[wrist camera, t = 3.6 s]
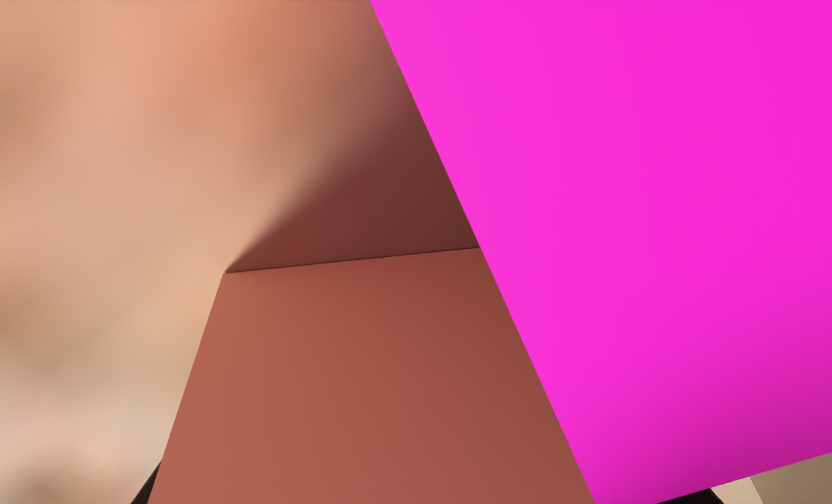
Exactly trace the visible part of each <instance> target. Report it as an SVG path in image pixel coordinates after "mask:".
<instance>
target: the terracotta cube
mask: <svg viewBox="0 0 832 504" xmlns="http://www.w3.org/2000/svg"><path fill="white" fill-rule="evenodd" d="M147 504H595V501H594V499H593V497H592V495H591V492H590V490H589V488H588V486H587V484H586V481H585V479H584V477H583V475H582V472H581V470H580V468H579V466H578V464H577V461H576V459H575V457H574V455H573V452H572V450H571V448H570V446H569V443H568V441H567V439H566V437H565V435H564V432H563V430H562V428H561V426H560V423H559V421H558V419H557V417H556V415H555V412H554V410H553V408H552V406H551V403H550V401H549V399H548V397H547V394H546V392H545V390H544V388H543V386H542V383H541V381H540V379H539V377H538V374H537V372H536V370H535V368H534V366H533V363H532V361H531V359H530V357H529V354H528V352H527V350H526V348H525V345H524V343H523V341H522V339H521V337H520V334H519V332H518V330H517V328H516V325H515V323H514V321H513V319H512V317H511V314H510V312H509V310H508V308H507V305H506V303H505V301H504V299H503V296H502V294H501V292H500V290H499V288H498V285H497V283H496V281H495V279H494V276H493V274H492V272H491V270H490V268H489V265H488V263H487V261H486V259H485V256H484V254H483V252H482V250H481V248H471V249H462V250H452V251H442V252H432V253H422V254H412V255H403V256H393V257H383V258H373V259H363V260H353V261H344V262H334V263H324V264H314V265H304V266H294V267H285V268H275V269H265V270H255V271H245V272H235V273H226V274H223V276H222V279H221V282H220V285H219V288H218V291H217V294H216V297H215V300H214V303H213V306H212V309H211V312H210V315H209V318H208V321H207V324H206V327H205V330H204V333H203V336H202V340H201V343H200V346H199V349H198V352H197V355H196V358H195V361H194V364H193V367H192V370H191V373H190V376H189V379H188V382H187V385H186V388H185V391H184V394H183V397H182V400H181V403H180V406H179V409H178V412H177V415H176V418H175V421H174V425H173V428H172V431H171V434H170V437H169V440H168V443H167V446H166V449H165V452H164V455H163V458H162V461H161V464H160V467H159V470H158V473H157V476H156V479H155V482H154V485H153V488H152V491H151V494H150V497H149V500H148V503H147Z"/></svg>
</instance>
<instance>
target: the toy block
mask: <svg viewBox="0 0 832 504" xmlns="http://www.w3.org/2000/svg"><path fill="white" fill-rule="evenodd" d="M370 2H371V5H372V7H373V9H374V11H375V14H376V16H377V18H378V20H379V22H380V25H381V27H382V29H383V31H384V34H385V36H386V38H387V40H388V43H389V45H390V47H391V49H392V51H393V54H394V56H395V58H396V60H397V63H398V65H399V67H400V69H401V71H402V74H403V76H404V78H405V80H406V83H407V85H408V87H409V89H410V92H411V94H412V96H413V98H414V100H415V103H416V105H417V107H418V109H419V112H420V114H421V116H422V118H423V121H424V123H425V125H426V127H427V129H428V132H429V134H430V136H431V138H432V141H433V143H434V145H435V147H436V149H437V152H438V154H439V156H440V158H441V161H442V163H443V165H444V167H445V170H446V172H447V174H448V176H449V178H450V181H451V183H452V185H453V187H454V190H455V192H456V194H457V196H458V198H459V201H460V203H461V205H462V207H463V210H464V212H465V214H466V216H467V219H468V221H469V223H470V225H471V227H472V230H473V232H474V234H475V236H476V239H477V241H478V243H479V245H480V247H481V250H482V252H483V254H484V256H485V259H486V261H487V263H488V265H489V268H490V270H491V272H492V274H493V276H494V279H495V281H496V283H497V285H498V288H499V290H500V292H501V294H502V296H503V299H504V301H505V303H506V305H507V308H508V310H509V312H510V314H511V317H512V319H513V321H514V323H515V325H516V328H517V330H518V332H519V334H520V337H521V339H522V341H523V343H524V345H525V348H526V350H527V352H528V354H529V357H530V359H531V361H532V363H533V366H534V368H535V370H536V372H537V374H538V377H539V379H540V381H541V383H542V386H543V388H544V390H545V392H546V394H547V397H548V399H549V401H550V403H551V406H552V408H553V410H554V412H555V415H556V417H557V419H558V421H559V423H560V426H561V428H562V430H563V432H564V435H565V437H566V439H567V441H568V443H569V446H570V448H571V450H572V452H573V455H574V457H575V459H576V461H577V464H578V466H579V468H580V470H581V472H582V475H583V477H584V479H585V481H586V484H587V486H588V488H589V490H590V492H591V495H592V497H593V499H594V501H595V504H657V503H660V502H663V501H667V500H670V499H674V498H677V497H681V496H684V495H687V494H691V493H694V492H698V491H701V490H705V489H708V488H711V487H715V486H718V485H722V484H725V483H729V482H732V481H735V480H739V479H742V478H746V477H749V476H753V475H756V474H759V473H763V472H766V471H770V470H773V469H777V468H780V467H784V466H787V465H790V464H794V463H797V462H801V461H804V460H808V459H811V458H814V457H818V456H821V455H825V454H828V453H832V0H370Z"/></svg>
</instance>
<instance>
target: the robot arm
mask: <svg viewBox="0 0 832 504" xmlns="http://www.w3.org/2000/svg"><path fill="white" fill-rule="evenodd" d="M161 461H162V460H161ZM160 464H161V462H160V463H159V465H158V466H157V467H156V469H155V470H154V472H153V473H152V475H151V476H150V477H149V479H148V480H147V482H146V483H145V484H144V486H143V487H142V489H141V490H140V491H139V493H138V494H137V496H136V497H135V498H134V500H133V501H132V502H131V504H147V503H148V500H149V497H150V494H151V491H152V488H153V485H154V482H155V479H156V476H157V473H158V470H159V467H160ZM657 504H724V503H723V502H722V501H721V500H720V499H719V498H718V497H717V496H716V494H715V493H714V492H713V491H712V490H711V489H710V488H708V489H705V490H701V491H698V492H694V493H691V494H687V495H684V496H681V497H677V498H674V499H670V500H667V501H663V502H660V503H657Z"/></svg>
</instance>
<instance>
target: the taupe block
mask: <svg viewBox="0 0 832 504" xmlns="http://www.w3.org/2000/svg"><path fill="white" fill-rule="evenodd" d="M750 478H751V480H752V482H753V484H754V486H755V488H756V490H757V492H758V494H759V496H760V498H761V500H762V501H763V503H764V504H832V453H828V454H825V455H821V456H818V457H814V458H811V459H808V460H804V461H801V462H797V463H794V464H790V465H787V466H784V467H780V468H777V469H773V470H770V471H766V472H763V473H759V474H756V475H753V476H750Z"/></svg>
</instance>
